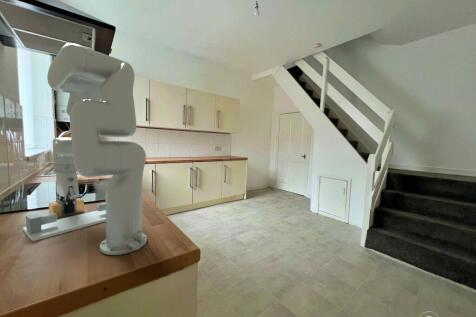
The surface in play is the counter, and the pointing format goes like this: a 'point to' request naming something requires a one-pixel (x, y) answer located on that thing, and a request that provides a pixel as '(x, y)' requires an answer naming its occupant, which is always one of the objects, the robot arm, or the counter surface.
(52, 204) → the block
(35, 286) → the counter surface
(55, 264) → the counter surface
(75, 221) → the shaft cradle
